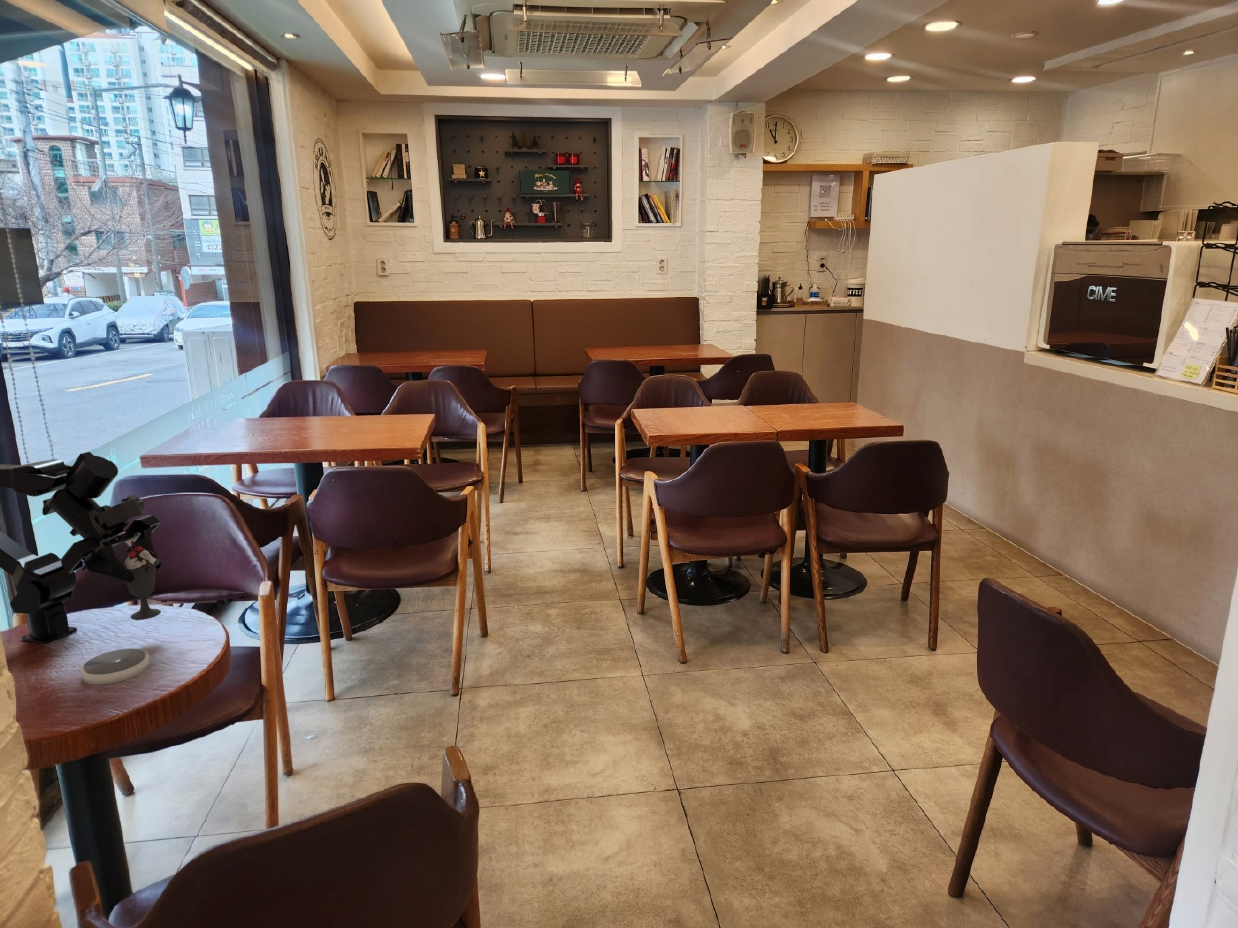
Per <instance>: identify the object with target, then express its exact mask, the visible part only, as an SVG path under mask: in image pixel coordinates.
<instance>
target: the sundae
mask: <svg viewBox="0 0 1238 928" xmlns="http://www.w3.org/2000/svg"><path fill="white" fill-rule="evenodd" d="M131 544H132V545H134V541H132V542H131ZM132 545H131V552H130V553H128V556H126V559H125V561H124V562H121V563H122V564H123V565H124V566H125V567H126V568H127V569H128V570H129V571H130V573H131V574H132V575H133V576H134V578H135V580H134V581H133V582H131V583H130V582H126V581H125V582H126V586H127V588H128V591H129V593H130V594H131V595H132V596H133V597H136V598H138V599H139V600H140V609H139V610H138V611H135V612H134V613H132V614H131V615H130V619H131V620H134V621H144V620H148V619H152V618H155V617H157V616H159V615H160V614H161V612H162V610H160V609H157V608H152V607H150V605H149V602H148V597H149V596H151V594H152V593H153V592H154V591H155V586H156V569H155V568H156V565H158V564H159V560H160V559H157V558H154V557H153V556H154V552H152V551H150V550H148V549H146V548H143V549H142V547H139V546H138V547H137V546H135V545H134V546H135V547H136V548H135V549H134V550H133V551H132Z"/></svg>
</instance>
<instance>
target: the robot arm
mask: <svg viewBox="0 0 1238 928" xmlns="http://www.w3.org/2000/svg"><path fill="white" fill-rule="evenodd" d="M118 474H119V469H118V466H117V465H116V464H115V463H114V462H113V461H112V460H109V459H108V458H105V457H103V456H99V455H95V454H93V453H92V452H91V451H86V452H82V453H81V452H80V453H79V455H78V456H77V458H76V460H75V462H74V463H73V464H72V465H70V464H65V462H64V461H63V460H61V459H58V458H53V459H48V460H42V461H36V462H35V461H34V462H30V463H24V464H5V463H4V464H2V463H1V464H0V488H1V489H4V488H5V489H9V490H13V491H14V492H15V493H16V494H20V495H24V496H28V497H39V496H42V495H46V494H51V493H53V495H52V496H51V497H50V498H47V499H44V500H42V504H43V505H42V506H43V507H42V512H41V513H42V516H48V515H50V514H53V513H56V515H58V516H59V517H60V518H61V519H62V520H63V521H64V522H66V523H67V524H68V525H69V526H70V527H71V530H70V531H69V534H70V535H71V536H72V537H76V536H80V537H81V538H82V539H80V540H78V541H75V542H73V544H71V546H70V547H69V548H68V550H67V551H66V552H65V553H64V555H62V557H61V558H60V557H59V556H58V555H57V554H56V553H54V552H48V553H46V554H42V555H40V556H38V555H36V554H33V553H32V552H31V551H29V550H28V549H26V548H25V547H23V546H22V545H20V544H19V543H17V542H16V541H15V540H13V539H12V538H10V537H9V536H8V535H6V534H5V533H3V532H2V531H0V569H1V570H3V571H4V572H6V573H7V574H9V575H10V576H11V577H12V581H13V584H14V588H15V591H17V593H16V594H15V596H14V597H13V598H12V599H11V601H10V602H9V605H10V606H11V609H12V611H13V613H14V614H25V616H26V621H27V626H28V627H27V628H28V631H29V633H27V634H25V635H22V636H21V640H22V641H28V642H32V643H33V642H34V643H38V644H39V643H40V644H48V643H49V642H52V641H54V640H57V639H59V638H62V637H64V636H67V635H69V634H72V633H74V632H77V631H78V627H76V626H70V625H69V619H68V614H67V610H66V605H65V603H64V602H65V601H66V600H68V599H72V598H74V593H75V588H76V586H77V575H76V572H77V571H79V570H81V571H83V572H91V573H96V574H99V575H105V576H106V577H110V578H111V577H112V578H114V579H118V580H121V581H124V582H130V583H131V582H133V581H134V580H135V578H134V576H133V575H132V574H131V573H130V571H129V570H128V569H127V568H126V567H125V566H124V565H123V564H122V563H123V562H121V561H120V559H119V558H117V557H116V556H115V553H114V549H113V547H115V546H118V545H121V544H123V543H125V544H126V546H128V547H129V548H128V549H127V550H126V553H128V554H129V553H130V552H131V545H132V544H131V542H132V541H134V545H135V546H137V547H138V546H139V547H142V549H143V548H146V549H148V550H150V551H152V552H154V556H153V557H154V558H157V559H159V556H158V554H157V552H156V550H155V547H154V544H153V542H152V534H153V533H154V532H155V531H156V529H157V528H158V527H159V526H160V524H161V523H162V522H161V521H160V520H159V519H158V518H157V517H156V516H155V515H153V514H146V515H144V516H141V515H143V514H144V513H143V511H142V510H143V509H145V503H144V501H143V500H142V499H141V498H140V497H138V496H137V495H136V494H135V493H134V494H131V495H128V496H126V497H124V498H121V502H120V503H117V504H115V505H113V506H111V505H107V504H105V505H102V506H101V505H99V503H97V502H96V501H95V500H94V499H98V498H100V497H101V496H102V495H103V493H104V492H105V491H106V490H107V488H108V487H109V486H110V484H111V483H113V481H114V479H115V478H116V477H117V476H118ZM136 516H141V517H138V518H135V519H134V520H133V521H132V522H131V524H130V521H129V520H131V519H133V518H134V517H136ZM128 525H129V526H128ZM126 527H127V528H126ZM125 528H126V530H125ZM134 545H132V551H133V550H134V549H135V548H136V547H135V546H134ZM162 565H163V564H162V562H161V560H160V559H159V564H158V565H156V568H155V570H160V569H161V568H162Z"/></svg>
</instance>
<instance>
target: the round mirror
mask: <svg viewBox="0 0 1238 928" xmlns="http://www.w3.org/2000/svg"><path fill="white" fill-rule="evenodd" d="M150 666H151V661H150V654H149V652H147V651H146V650H143V649H140V648H122V649H115V650H111V651H107V652H104V653H101V654H98V655H96V656H94V657H92V658H89V660H87V661H86V662H85V663H84V664H83V665H82V666H81V668H80V675H81V680H82V682H83V683H85V684H88V685H94V686H95V685H96V686H98V685H101V686H102V685H109V684H114V683H119V682H123V681H125V680H130V679H132V678H134V677H137V676H138V675H140V674H142V673H144V672H145V671H147V670H148V669H149V667H150Z"/></svg>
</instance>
